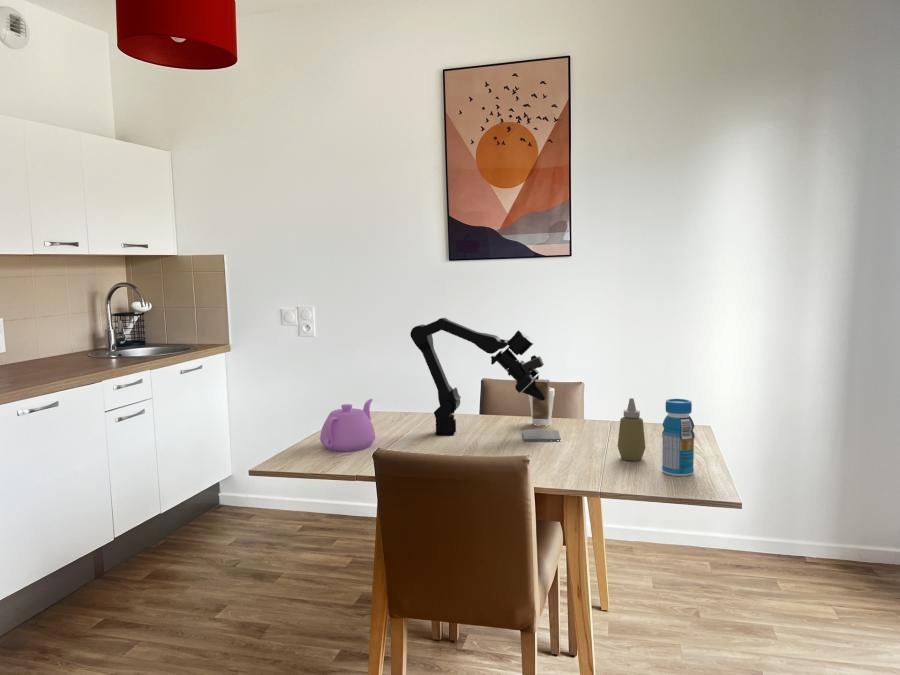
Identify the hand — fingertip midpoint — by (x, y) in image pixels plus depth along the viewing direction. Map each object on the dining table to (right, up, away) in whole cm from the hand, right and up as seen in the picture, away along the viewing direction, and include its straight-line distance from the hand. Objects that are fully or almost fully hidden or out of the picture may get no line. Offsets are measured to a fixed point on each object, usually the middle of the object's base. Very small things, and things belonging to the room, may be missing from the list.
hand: (545, 398), depth 231 cm
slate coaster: (-1, -13, +2) cm, 13 cm away
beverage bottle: (+31, -17, -42) cm, 55 cm away
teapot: (-65, -15, -4) cm, 67 cm away
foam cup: (+2, -12, +20) cm, 24 cm away
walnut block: (-1, -7, +1) cm, 7 cm away
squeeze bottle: (+22, -16, -27) cm, 38 cm away
